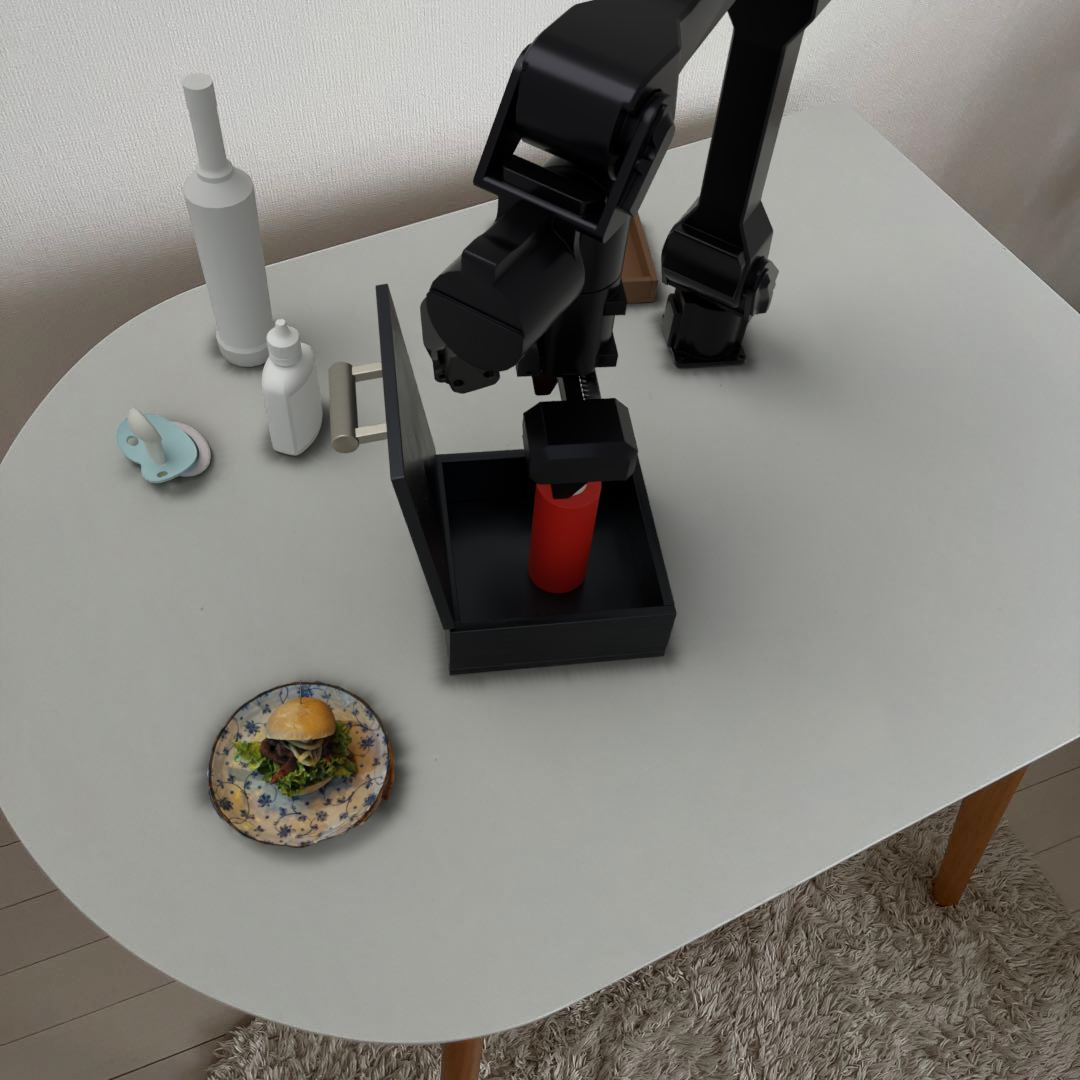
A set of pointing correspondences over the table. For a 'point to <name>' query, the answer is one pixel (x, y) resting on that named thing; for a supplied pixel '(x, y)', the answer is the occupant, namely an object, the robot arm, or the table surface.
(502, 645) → the black open box
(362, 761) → the burger
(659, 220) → the table surface
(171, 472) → the pacifier
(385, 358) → the door
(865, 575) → the table surface
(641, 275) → the tray
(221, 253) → the bottle
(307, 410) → the eye dropper bottle
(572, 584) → the ketchup
